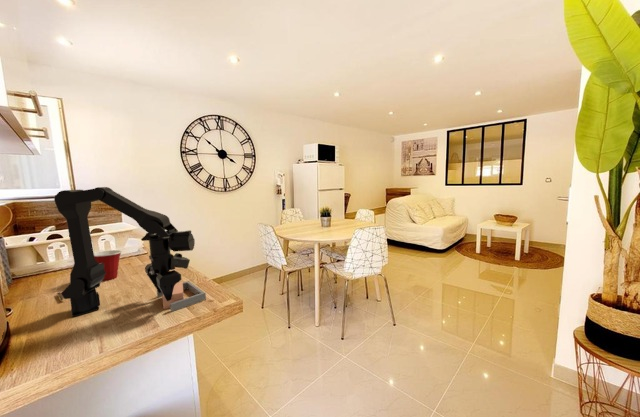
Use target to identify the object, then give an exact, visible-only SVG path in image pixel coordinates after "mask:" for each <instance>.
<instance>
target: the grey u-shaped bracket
mask: <svg viewBox="0 0 640 417" xmlns="http://www.w3.org/2000/svg"><path fill="white" fill-rule="evenodd" d="M182 282H183V281H182ZM187 288H188V289H187ZM184 290H188V291H189V292H191V293H193V295H191V296H189V297H186V298H185V297H184V299H182V300H179V301H176V302H173V303H170V308H169V309H170V312H171V313H172V312H175V311H176V312H177V311H178V310H180V309H184V308H186V307H189V306H192V305H195V304H197V303H200V302H201V303H202V302H204V301H206V300H207V295H206V292H205V291H204V290H202V289H201V288H199V287H197V286H196V285H195V284H193V283H192V282H191V281H189V280H188V281H184V282H183V291H184ZM162 296H163V293H162V292H161V293H159V292H158V291H157V290H156V297H157V298H161V297H162ZM203 300H204V301H203Z"/></svg>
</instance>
